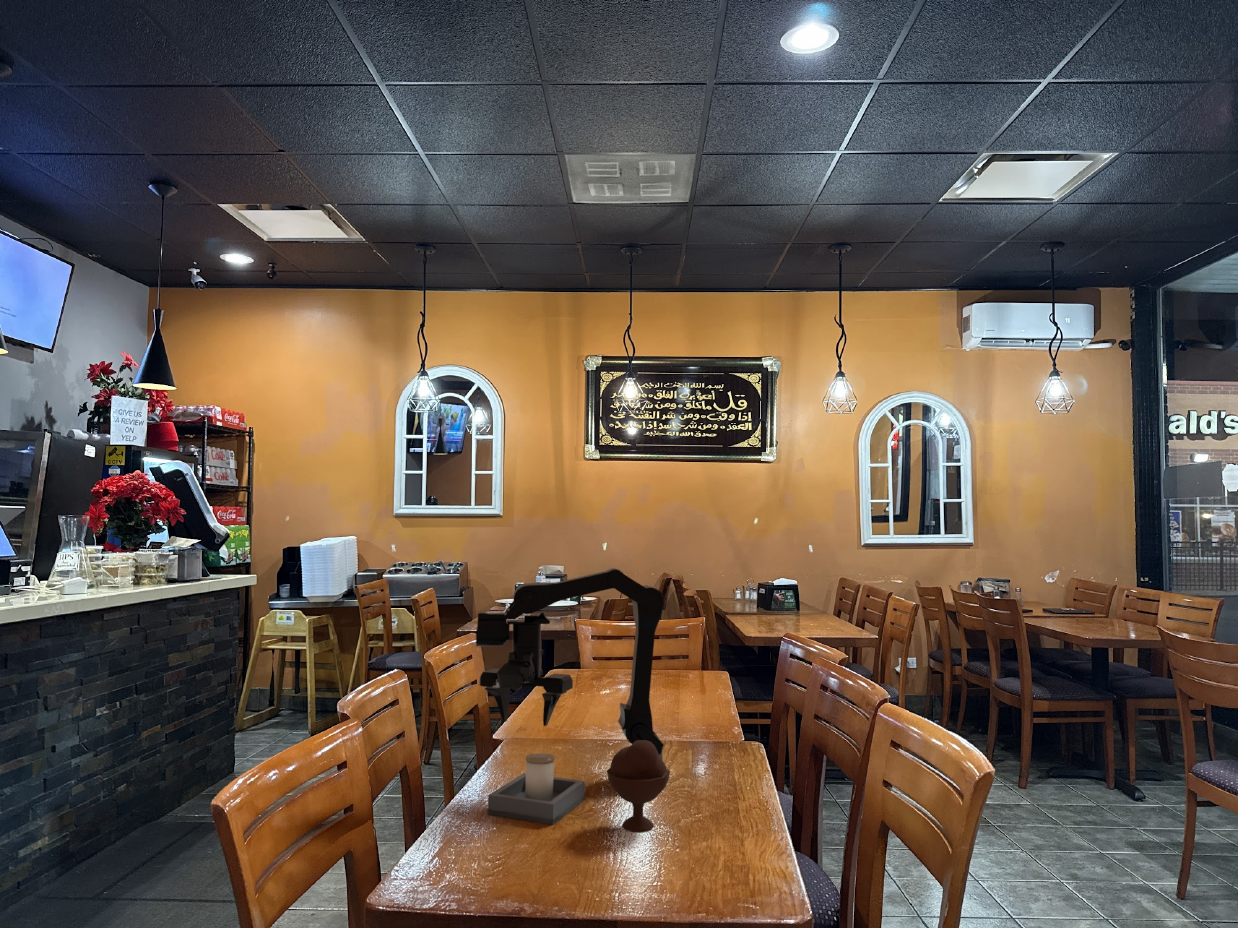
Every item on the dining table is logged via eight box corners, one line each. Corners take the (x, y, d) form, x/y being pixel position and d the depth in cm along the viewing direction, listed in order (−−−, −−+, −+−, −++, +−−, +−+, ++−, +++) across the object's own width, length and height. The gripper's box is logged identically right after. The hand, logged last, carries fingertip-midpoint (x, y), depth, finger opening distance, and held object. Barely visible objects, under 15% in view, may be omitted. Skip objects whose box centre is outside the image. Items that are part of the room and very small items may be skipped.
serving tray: (584, 799, 155) (584, 780, 155) (553, 824, 142) (553, 804, 142) (523, 791, 160) (523, 772, 160) (487, 814, 147) (488, 794, 147)
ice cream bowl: (675, 819, 145) (676, 733, 147) (658, 842, 135) (658, 749, 136) (619, 811, 149) (620, 728, 150) (598, 833, 138) (599, 743, 139)
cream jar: (558, 799, 152) (559, 755, 153) (545, 807, 147) (546, 762, 148) (532, 795, 154) (534, 751, 155) (519, 803, 149) (520, 758, 150)
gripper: (466, 648, 162) (464, 728, 161) (550, 654, 155) (549, 737, 154) (493, 641, 172) (492, 715, 171) (574, 646, 166) (573, 724, 165)
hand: (525, 723), depth 165 cm, fingers open, 9 cm apart
